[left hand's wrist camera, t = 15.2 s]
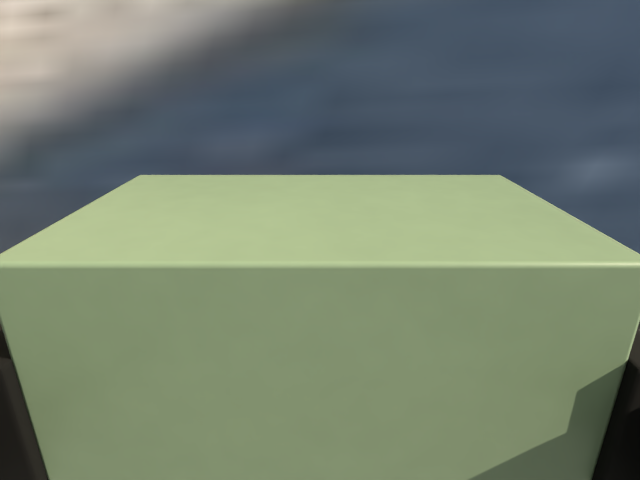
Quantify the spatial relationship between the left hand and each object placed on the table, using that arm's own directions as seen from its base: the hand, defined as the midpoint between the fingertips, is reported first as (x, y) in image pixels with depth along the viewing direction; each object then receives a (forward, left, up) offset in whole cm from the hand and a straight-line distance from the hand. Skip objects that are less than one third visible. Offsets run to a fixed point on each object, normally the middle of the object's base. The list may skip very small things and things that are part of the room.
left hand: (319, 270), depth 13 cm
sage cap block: (0, 0, 0) cm, 0 cm away
